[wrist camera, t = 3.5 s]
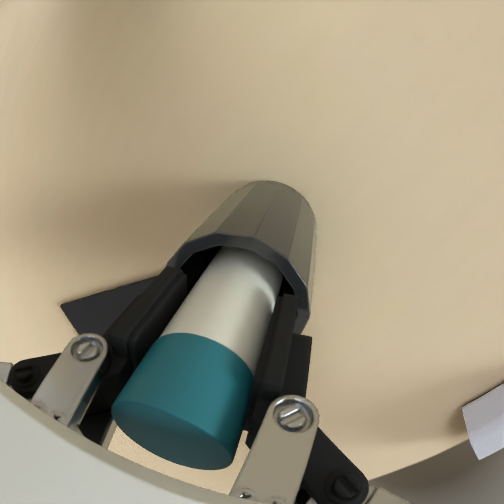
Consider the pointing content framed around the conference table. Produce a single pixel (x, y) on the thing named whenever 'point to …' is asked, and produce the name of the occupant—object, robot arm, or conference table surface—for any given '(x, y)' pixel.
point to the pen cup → (260, 239)
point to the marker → (203, 365)
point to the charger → (486, 422)
